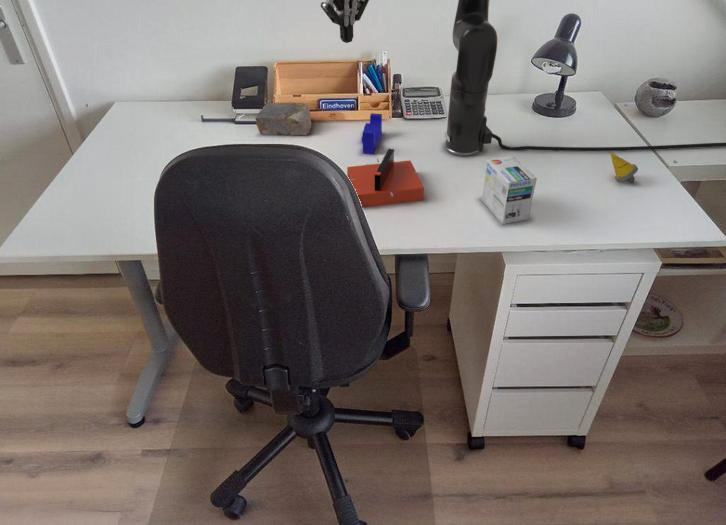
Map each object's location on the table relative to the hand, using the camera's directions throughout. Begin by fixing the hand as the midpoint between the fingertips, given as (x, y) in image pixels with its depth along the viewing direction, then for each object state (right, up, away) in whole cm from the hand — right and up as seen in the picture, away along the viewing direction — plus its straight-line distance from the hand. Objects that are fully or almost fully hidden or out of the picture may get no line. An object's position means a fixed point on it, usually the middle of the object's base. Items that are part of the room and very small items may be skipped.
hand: (347, 41), depth 127 cm
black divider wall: (+9, -31, +2) cm, 33 cm away
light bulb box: (+36, -40, -3) cm, 54 cm away
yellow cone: (+66, -32, +5) cm, 74 cm away
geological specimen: (-19, -12, +31) cm, 38 cm away
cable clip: (+6, -19, +22) cm, 30 cm away
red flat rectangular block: (+9, -34, +4) cm, 36 cm away
